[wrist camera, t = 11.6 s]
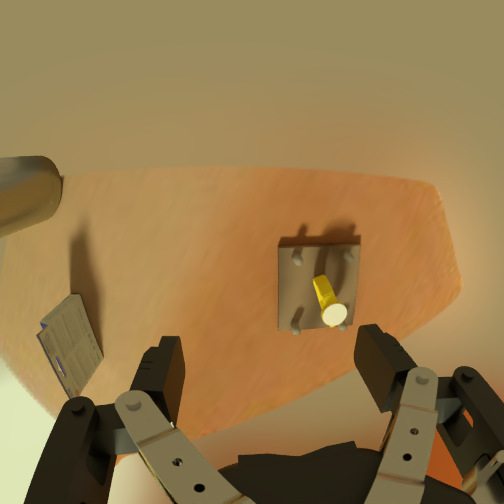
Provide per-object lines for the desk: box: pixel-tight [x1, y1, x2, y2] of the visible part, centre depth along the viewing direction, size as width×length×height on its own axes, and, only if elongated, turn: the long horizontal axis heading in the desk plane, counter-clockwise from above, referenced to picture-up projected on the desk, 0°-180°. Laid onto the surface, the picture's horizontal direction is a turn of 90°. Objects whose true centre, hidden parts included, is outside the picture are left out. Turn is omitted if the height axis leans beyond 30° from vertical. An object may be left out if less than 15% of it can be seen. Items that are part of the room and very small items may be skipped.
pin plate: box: [278, 243, 361, 335], centre depth 35 cm, size 10×11×3 cm
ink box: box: [36, 294, 103, 399], centre depth 32 cm, size 12×2×12 cm, turn 6°
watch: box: [313, 275, 347, 327], centre depth 32 cm, size 6×3×6 cm, turn 21°
